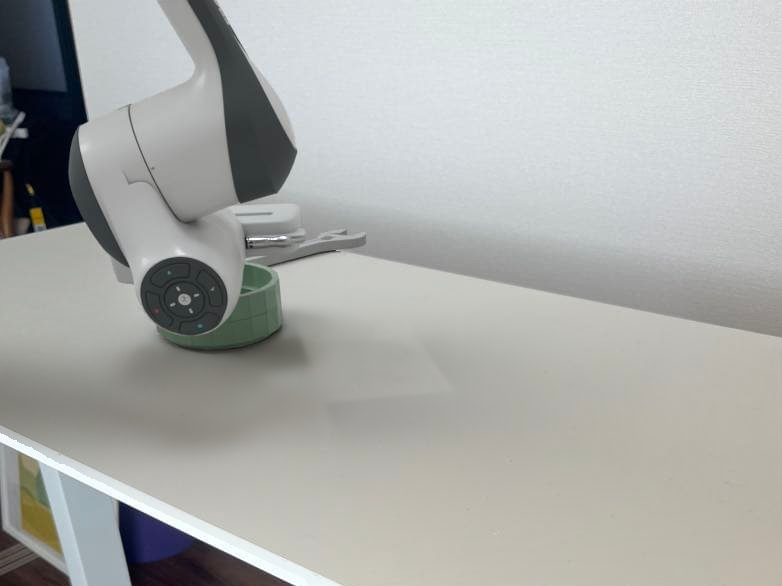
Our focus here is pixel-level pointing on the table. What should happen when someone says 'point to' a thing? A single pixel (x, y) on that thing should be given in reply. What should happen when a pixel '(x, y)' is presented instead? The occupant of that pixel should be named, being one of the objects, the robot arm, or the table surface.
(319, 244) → the adjustable wrench
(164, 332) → the bowl
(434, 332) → the table surface
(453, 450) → the table surface
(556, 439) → the table surface
